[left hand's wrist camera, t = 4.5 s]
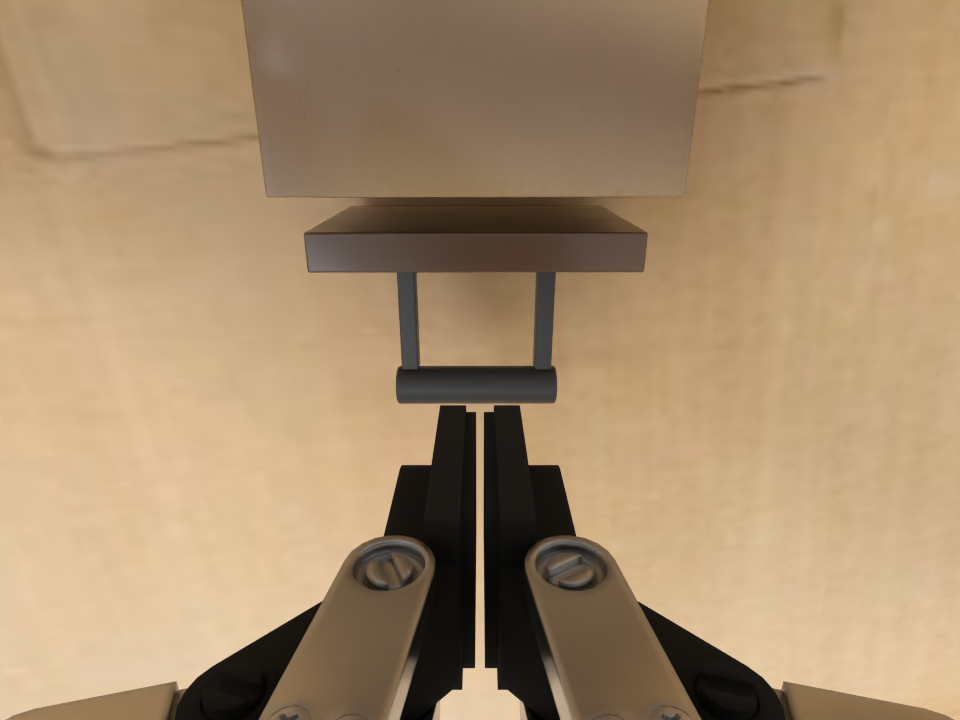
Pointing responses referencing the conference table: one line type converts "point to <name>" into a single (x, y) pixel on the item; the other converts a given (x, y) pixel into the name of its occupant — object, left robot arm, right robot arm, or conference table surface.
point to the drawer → (476, 248)
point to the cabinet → (475, 96)
